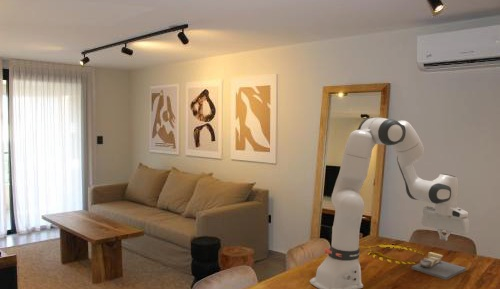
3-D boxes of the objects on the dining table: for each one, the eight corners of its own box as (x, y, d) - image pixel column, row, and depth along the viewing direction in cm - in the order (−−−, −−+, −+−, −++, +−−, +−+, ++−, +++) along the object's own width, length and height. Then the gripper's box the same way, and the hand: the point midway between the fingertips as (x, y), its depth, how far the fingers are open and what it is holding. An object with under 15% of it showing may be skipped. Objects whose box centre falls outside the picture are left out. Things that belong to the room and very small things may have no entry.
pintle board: (446, 280, 168) (446, 268, 167) (411, 268, 180) (412, 257, 180) (466, 270, 180) (466, 259, 180) (432, 260, 192) (433, 250, 192)
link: (428, 268, 176) (428, 263, 176) (418, 265, 180) (418, 260, 180) (442, 261, 187) (442, 256, 187) (432, 259, 190) (432, 254, 190)
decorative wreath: (350, 254, 199) (411, 269, 181) (350, 251, 199) (411, 266, 181) (373, 240, 227) (428, 251, 209) (373, 237, 226) (429, 248, 208)
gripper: (420, 205, 182) (418, 234, 183) (466, 215, 167) (463, 246, 167) (426, 204, 186) (424, 233, 187) (472, 213, 171) (469, 244, 171)
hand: (443, 239), depth 177 cm, fingers closed
